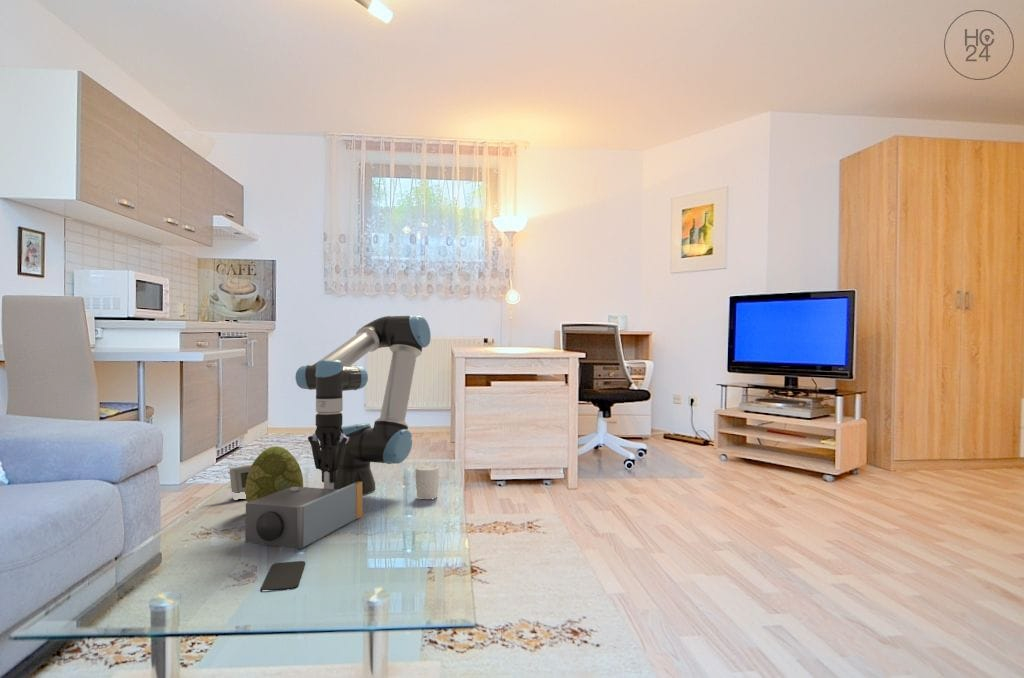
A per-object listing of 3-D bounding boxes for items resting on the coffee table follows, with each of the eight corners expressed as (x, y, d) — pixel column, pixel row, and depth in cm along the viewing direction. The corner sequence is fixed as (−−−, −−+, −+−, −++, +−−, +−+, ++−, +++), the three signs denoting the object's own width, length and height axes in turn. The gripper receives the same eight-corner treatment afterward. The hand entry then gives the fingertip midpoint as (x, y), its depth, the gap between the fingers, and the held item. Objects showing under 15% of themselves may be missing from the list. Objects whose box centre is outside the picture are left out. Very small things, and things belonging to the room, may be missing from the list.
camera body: (292, 521, 166) (292, 483, 166) (341, 525, 162) (341, 486, 162) (241, 544, 146) (241, 501, 146) (295, 550, 142) (295, 506, 142)
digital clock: (231, 502, 187) (231, 469, 187) (227, 496, 194) (227, 465, 195) (283, 495, 196) (284, 464, 196) (278, 490, 203) (278, 460, 203)
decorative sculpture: (269, 523, 164) (269, 453, 164) (233, 515, 172) (233, 448, 173) (314, 509, 178) (314, 444, 179) (279, 502, 186) (279, 440, 187)
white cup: (437, 500, 188) (437, 470, 188) (413, 500, 188) (413, 470, 188) (440, 494, 196) (440, 465, 196) (417, 494, 196) (417, 465, 196)
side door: (358, 516, 170) (358, 480, 170) (362, 516, 170) (362, 480, 170) (296, 549, 142) (296, 506, 142) (301, 549, 141) (301, 507, 142)
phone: (259, 590, 117) (271, 563, 132) (259, 594, 117) (271, 566, 132) (297, 586, 119) (306, 560, 134) (297, 590, 119) (306, 564, 134)
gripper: (301, 413, 167) (301, 495, 166) (341, 414, 163) (341, 498, 163) (317, 410, 174) (317, 489, 173) (355, 412, 170) (355, 491, 170)
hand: (328, 493), depth 168 cm, fingers closed
